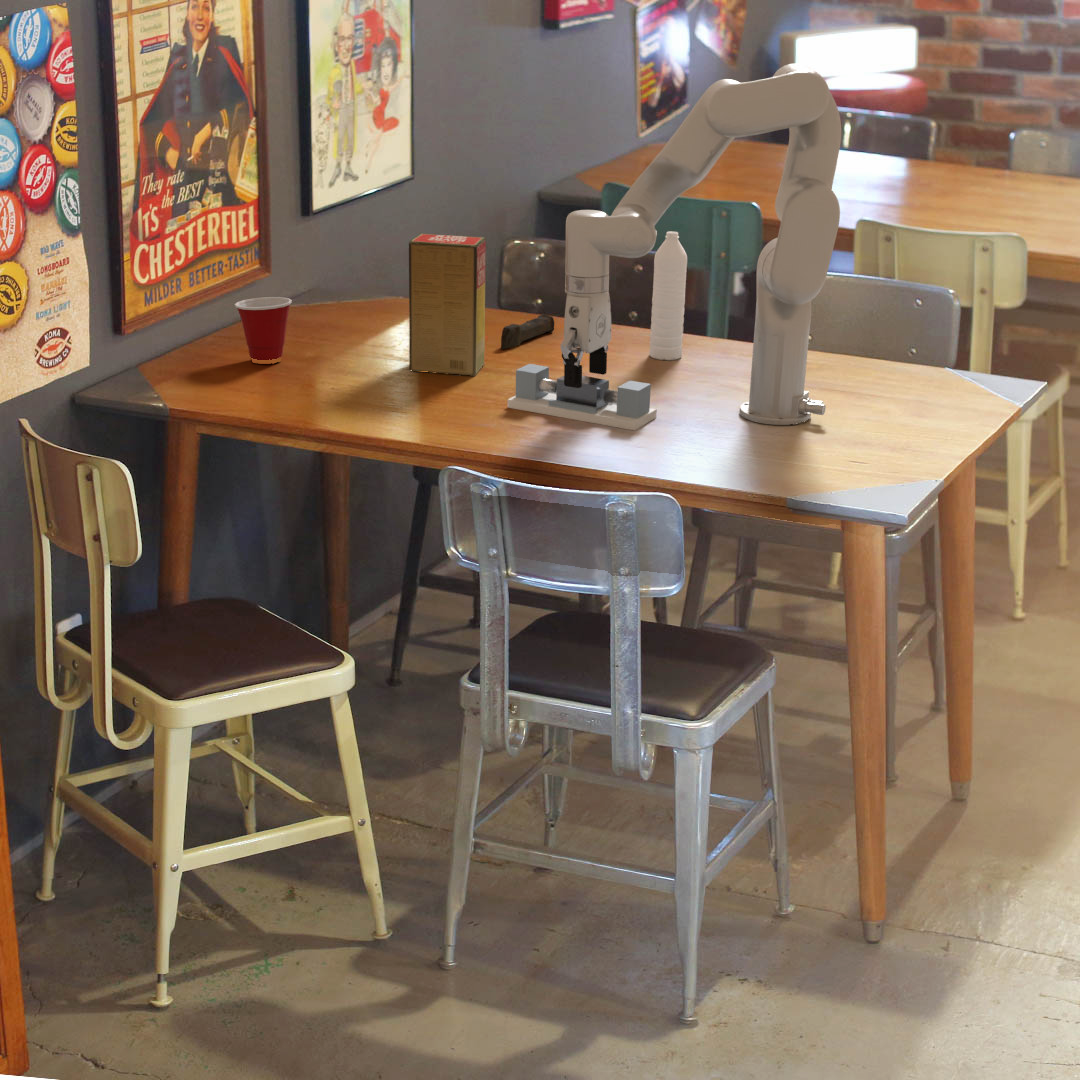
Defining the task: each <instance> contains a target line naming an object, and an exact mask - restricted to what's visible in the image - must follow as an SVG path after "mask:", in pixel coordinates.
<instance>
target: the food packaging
mask: <svg viewBox="0 0 1080 1080" xmlns="http://www.w3.org/2000/svg"><path fill="white" fill-rule="evenodd" d="M486 251H487V238H486V237H484V236H464V235H449V234H448V235H446V234H429V233H419V234H418V235H416V236H415V237H413V238H412V239H411V240H410V241H409V242H408V298H409V299H408V300H409V301H408V303H409V304H408V305H409V307H408V308H409V309H408V310H409V321H408V323H409V331H408V332H409V333H408V334H409V336H408V337H409V342H408V343H409V347H408V348H409V352H408V353H409V356H408V357H409V363H408V364H409V365H408V366H409V367H408V368H409V370H412V371H428V372H436V373H448V374H459V375H458V376H461V375H470V376H469V377H476V376H477V374H478V373H479V372H480V371H481V369H482V368H483V367H484V366H485V345H486V344H485V339H486V338H485V337H486V331H485V330H486V329H485V328H486V326H485V325H486V324H485V323H486V271H487V270H486V265H487V264H486V263H487V261H486V258H487V257H486V256H487V255H486V254H487V252H486ZM482 366H483V367H482ZM448 374H447V375H448Z"/></svg>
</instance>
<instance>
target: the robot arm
mask: <svg viewBox="0 0 1080 1080" xmlns="http://www.w3.org/2000/svg"><path fill="white" fill-rule="evenodd" d="M786 129H788V131H789V135H788V136H789V140H788V147H787V153H786V159H785V161H784V166H783V170H782V175H781V179H780V183H779V187H778V189H777V190H778V191H777V194H776V197H775V202H774V203H775V204H774V210H775V214H776V216H777V218H778V220H779V221H780V224H779V229H778V235H777V237H776V238H773V239H771V240H770V241H769V242H767V243H766V244H765V246H764V247H763V248H762V250H761V251H760V254H759V256H758V259H757V263H756V305H755V306H756V307H755V319H754V321H755V322H754V334H753V345H752V347H753V348H752V360H751V372H750V387H749V395H748V397H749V399H748V401H745V402H743V403H741V404H740V405H739V414H740V416H741V417H743V418H744V419H746V420H748V421H751V422H754V423H759V424H766V425H773V426H791V425H790V424H793V425H797V424H796V423H799V424H801V423H800V422H803V423H805V422H804V421H806V420H808V419H809V418H810V419H811V416H812V414H813V415H817V416H818V415H819V416H824V415H825V413H826V407H827V406H826V404H824V401H822V400H813V399H811V398H810V396H809V395H810V391H809V390H805V383H806V374H807V373H806V372H807V363H808V362H807V360H808V350H809V342H810V341H809V339H810V331H811V322H812V321H811V319H812V300H813V299H815V298H816V297H817V296H818V295H819V294H820V291H821V290H822V288H823V286H824V284H825V281H826V278H827V275H828V271H829V267H830V263H831V259H832V256H833V251H834V247H835V243H836V239H837V234H838V231H839V230H838V229H839V225H840V218H841V208H840V203H839V200H838V197H837V195H836V194H835V192H834V191H833V184H834V178H835V174H836V169H837V165H838V159H839V153H840V147H841V142H842V141H841V140H842V122H841V116H840V113H839V109H838V105H837V104H836V100H835V98H834V96H833V94H832V92H831V91H830V88H829V85H828V83H827V81H826V79H824V77H823V76H822V75H821V74H820V73H819V72H817V71H815V70H813V69H812V68H810V67H808V66H806V65H804V64H800V63H789V64H785V65H783V66H781V67H780V68H778V69H777V70H776V71H775V73H774V74H773V75H772V76H771V77H768V78H767V77H766V78H763V79H757V80H752V81H745V82H740V81H738V80H736V79H735V80H734V79H729V78H724V79H719V80H717V81H715V82H714V83H712V84H711V85H710V86H709V87H708V88H707V89H706V90H705V92H704V93H703V94H702V95H701V97H700V98H699V100H698V101H697V102H696V103H695V105H694V106H693V108H692V109H691V111H690V112H689V113H688V114H687V116H686V117H685V118H684V120H683V122H682V123H681V124H680V125H679V127H678V128H677V130H676V131H675V132H674V134H673V135H672V136H671V137H670V139H669V140H668V141H667V143H666V144H665V145H664V147H663V148H662V149H661V150H660V152H659V153H657V155H656V156H655V157H654V158H653V160H652V161H651V162H650V163H649V165H648V166H647V167H646V168H645V169H644V170H643V171H642V172H641V173H640V175H639V176H638V177H637V178H636V180H635V181H634V182H633V184H631V187H629V189H628V190H627V192H626V193H625V194H624V196H623V197H621V200H620V201H619V202H618V204H617V205H616V207H615V208H614V209H613V211H612V213H611V215H608V214H607V213H606V212H605V211H601V210H595V209H580V210H574V211H571V212H570V213H568V214H567V217H566V220H565V259H564V261H565V262H564V263H565V266H564V267H565V269H564V270H565V271H564V272H565V275H564V277H565V280H564V281H565V283H564V284H565V285H564V286H565V288H564V292H565V294H566V301H565V308H564V320H563V323H564V324H563V339H562V341H561V343H560V351H561V358H562V364H563V367H564V369H563V374H564V375H563V376H564V385H565V386H568V387H574V388H580V387H582V376H583V365H582V364H581V362H582V358H583V356H584V353H586V354H589V355H588V356H589V357H588V358H589V363H588V365H589V366H588V368H589V369H588V371H589V373H591V374H596V375H597V374H598V375H606V374H607V371H608V370H607V369H608V368H607V367H608V360H607V359H608V350H609V345H608V344H609V343H610V342H611V340H612V311H611V298H610V292H609V291H610V289H609V287H610V282H609V281H610V256H615V257H622V258H626V259H627V258H628V259H635V258H636V259H637V258H642V257H644V256H646V255H647V254H648V253H650V252H651V251H652V250H653V248H654V247H655V244H656V243H657V241H656V240H657V236H656V231H657V230H656V227H655V226H656V224H657V223H658V222H659V221H660V219H661V218H662V217H663V215H664V214H665V213H666V211H667V210H668V209H669V208H670V206H671V205H672V204H673V203H674V202H675V201H676V200H677V199H678V197H680V196H681V195H682V194H683V193H685V192H686V191H688V190H689V189H692V188H694V187H695V186H697V185H698V184H700V183H701V182H702V181H703V180H704V179H705V178H706V177H707V175H708V174H709V172H710V171H712V169H713V168H714V166H715V164H716V163H717V161H718V160H719V159H720V158H721V156H722V155H723V153H725V151H726V150H727V148H728V147H729V145H730V144H731V143H732V142H733V141H734V139H735V138H743V137H745V138H746V137H749V136H756V135H760V134H761V135H762V134H766V133H771V132H775V131H780V130H786ZM575 354H576V356H575ZM810 419H809V420H810ZM809 420H808V421H809ZM806 422H807V421H806Z"/></svg>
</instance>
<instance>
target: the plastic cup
mask: <svg viewBox="0 0 1080 1080" xmlns="http://www.w3.org/2000/svg"><path fill="white" fill-rule="evenodd" d="M292 302H293V300H292V299H290V298H288V297H277V296H269V297H266V296H265V297H255V298H249V299H243V300H240V301H237V302H236V303H234V307H235V308H236V309H237V311H238V313H239V314H238V315H239V317H240V319H241V323H242V328H243V332H244V336H245V340H246V341H245V342H246V346H247V348H248V353H249V358H250V357H251V358H253V359H257V360H269V359H270V360H272V359H277V358H279V357H281V356H282V357H283V355H284V346H285V341H286V333H287V323H288V317H289V312H290V308H291V304H292ZM251 358H250V359H251Z"/></svg>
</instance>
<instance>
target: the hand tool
mask: <svg viewBox="0 0 1080 1080" xmlns="http://www.w3.org/2000/svg"><path fill="white" fill-rule="evenodd" d="M554 331H555V320H554V317H553V316H552V315H549V314H546V313H542V314H540V315H538V316H537V317H536V318H532V319H530V320H527V321H525V322H524V323H521V324H515V323H511V324H508V325H505V326H504V327H503V329H502V331H501V332H502V333H501V337H500V338H501V339H500V349H501V350H507V349H506V348H510V347H513V348H515V347H514V346H517V347H519V346H518V345H520V346H521V344H522V342H525V341H527V340H530V339H532V338H535V337H538V336H540V335H543V334H545V333H549V334H550V333H553V332H554ZM510 349H511V348H510Z"/></svg>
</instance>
